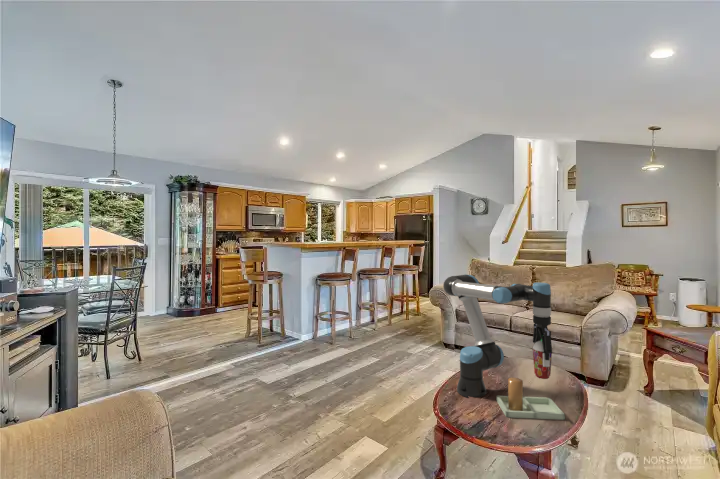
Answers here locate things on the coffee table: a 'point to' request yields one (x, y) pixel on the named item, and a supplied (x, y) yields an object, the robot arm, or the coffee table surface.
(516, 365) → the coffee table surface
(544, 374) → the smoothie
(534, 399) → the green divided tray
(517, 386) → the tan rounded capsule
